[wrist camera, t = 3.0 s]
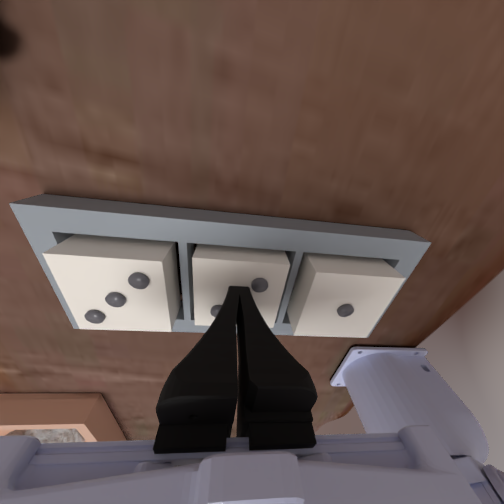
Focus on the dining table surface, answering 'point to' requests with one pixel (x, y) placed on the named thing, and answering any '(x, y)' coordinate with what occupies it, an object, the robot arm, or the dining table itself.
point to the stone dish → (60, 414)
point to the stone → (51, 435)
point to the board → (209, 240)
